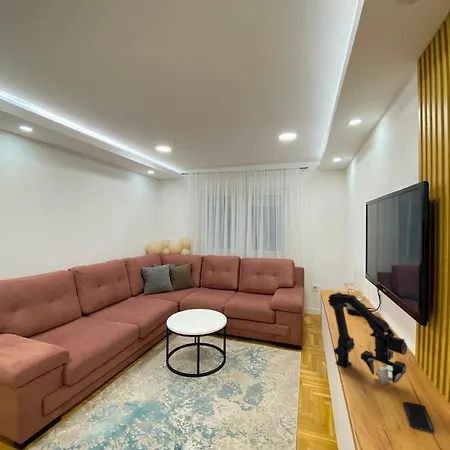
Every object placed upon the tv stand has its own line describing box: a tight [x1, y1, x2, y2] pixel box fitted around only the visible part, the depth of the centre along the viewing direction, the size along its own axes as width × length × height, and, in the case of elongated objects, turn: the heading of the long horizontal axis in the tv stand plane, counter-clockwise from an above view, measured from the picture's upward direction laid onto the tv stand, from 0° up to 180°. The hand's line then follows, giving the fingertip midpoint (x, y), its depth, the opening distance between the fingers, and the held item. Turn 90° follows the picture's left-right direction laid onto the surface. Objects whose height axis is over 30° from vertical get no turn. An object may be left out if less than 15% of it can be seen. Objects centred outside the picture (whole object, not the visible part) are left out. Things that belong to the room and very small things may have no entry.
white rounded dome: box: [377, 366, 390, 385], centre depth 128 cm, size 4×4×6 cm
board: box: [375, 364, 404, 383], centre depth 135 cm, size 14×9×1 cm, turn 129°
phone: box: [402, 400, 435, 434], centre depth 104 cm, size 8×1×15 cm
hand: (383, 378), depth 128 cm, fingers open, 9 cm apart
